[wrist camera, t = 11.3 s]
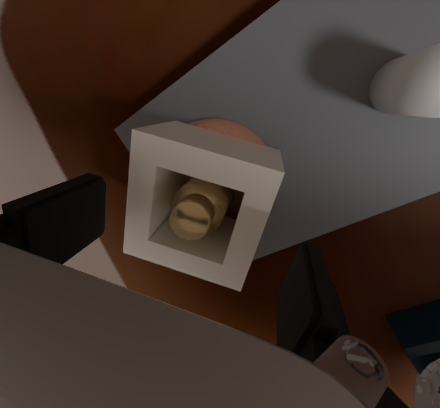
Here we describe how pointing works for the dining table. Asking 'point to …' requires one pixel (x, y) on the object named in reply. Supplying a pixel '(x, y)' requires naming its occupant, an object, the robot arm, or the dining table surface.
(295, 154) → the board
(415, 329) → the watch
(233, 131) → the hub
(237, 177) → the square hollow frame
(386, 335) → the dining table surface
